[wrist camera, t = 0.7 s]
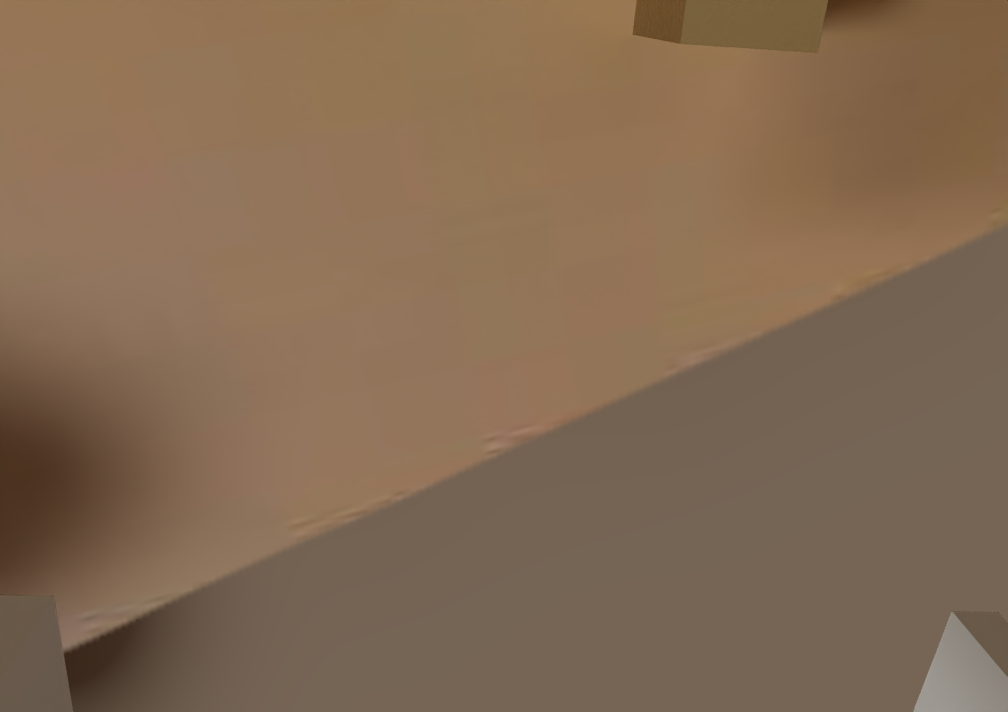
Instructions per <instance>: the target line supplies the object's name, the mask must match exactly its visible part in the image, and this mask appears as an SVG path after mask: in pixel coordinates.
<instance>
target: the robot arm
mask: <svg viewBox="0 0 1008 712" xmlns="http://www.w3.org/2000/svg"><path fill="white" fill-rule="evenodd" d="M0 712H73V709H72V703H71V697H70V691H69V685H68V679H67V673H66V667H65V661H64V654H63V648H62V642H61V636H60V630H59V624H58V618H57V612H56V606H55V600H54V596H16V595H0ZM913 712H1008V622H1007V621H1006V620H1005V619H1004V618H1003V617H1002V616H1001V615H1000V613H999V612H970V611H952V612H951V615H950V618H949V620H948V623H947V625H946V628H945V631H944V633H943V636H942V639H941V641H940V644H939V646H938V649H937V651H936V654H935V657H934V659H933V662H932V664H931V667H930V669H929V672H928V675H927V677H926V680H925V683H924V685H923V688H922V690H921V693H920V696H919V698H918V701H917V703H916V706H915V708H914V711H913Z"/></svg>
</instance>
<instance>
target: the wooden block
mask: <svg viewBox="0 0 1008 712" xmlns="http://www.w3.org/2000/svg"><path fill="white" fill-rule="evenodd" d="M827 4H828V0H637V2H636V10H635V19H634V27H633V35H637V36H642V37H647V38H653V39H658V40H663V41H668V42H674V43H679V44H691V45H707V46H722V47H738V48H753V49H768V50H784V51H799V52H814V53H818V48H819V43H820V39H821V34H822V29H823V24H824V19H825V14H826V9H827Z"/></svg>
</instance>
